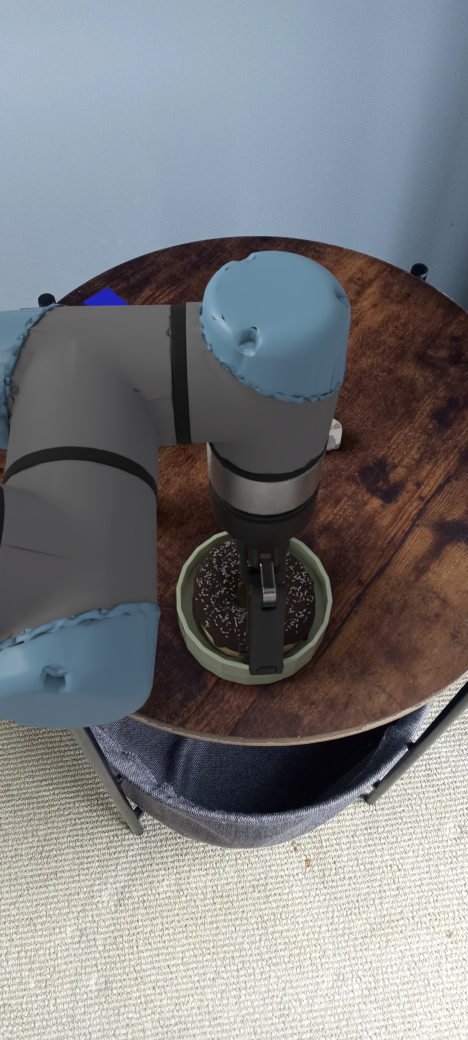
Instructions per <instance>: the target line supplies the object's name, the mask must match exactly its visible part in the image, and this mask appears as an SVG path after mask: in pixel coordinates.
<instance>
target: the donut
mask: <svg viewBox="0 0 468 1040" xmlns="http://www.w3.org/2000/svg"><path fill="white" fill-rule="evenodd" d="M247 566H248V567H252V566H251V564H250V562H249V559H248V557H247ZM197 568H198V569H197V571H196V576H195V579H194V595H193V603H194V609H195V613H196V615H197V617H198V619H199V621H200V623H201V626H202V628H203V629H204V631H205V633H206V634H207V636H208V638H209V639H210V641H211V642H212V643H213V645H214V646H215V647H217V648H218V649H220V650H221V651H223V652H224V653H226V654H228V655H232V656H236V657H239V645H241V644H245V636H248V628H247V609H243V608H242V605H241V603H240V601H239V599H238V597H237V595H236V593H237V591H238V589H239V588H240V586H241V585H242V584H243V582H242V581H241V577H240V567H239V552H238V551H237V549H236V542H235V539H231V540H228V541H225V542H223V543H220V544H217V545H215V546H214V547H213V548H212V549H211V550H210V551H209V552H208V553H207V554H206V555H205V556H204V558H203V559H202V561H201V563H200V565H199V566H198V567H197ZM281 583H286V585H287V588H288V589H289V595H288V596H287V602H286V608H285V627H284V649H283V653H285V652H287V651H289V650H291V649H292V648H293V647H294V646H296V645H297V644H298V643H299V642H300V641H302V640H303V641H306V640H307V639H308V635H309V632H310V630H311V628H312V626H313V623H314V619H315V611H316V598H315V591H314V581H313V580H312V579H311V577H310V575H309V573H308V571H307V569H306V568H305V567H304V565H303V564H302V563H301V562H300V560H298V559H297V558H296V557H295V556H294V555H293V554H291V553H290V552H288V551H286V578H285V580H284V581H282V582H281ZM240 658H244V656H242V657H240Z"/></svg>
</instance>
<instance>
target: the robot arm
mask: <svg viewBox="0 0 468 1040" xmlns="http://www.w3.org/2000/svg"><path fill="white" fill-rule="evenodd" d="M351 321H352V307H351V302H350V301H349V299H348V294H347V293H346V291H345V289H344V287H343V286H342V284H341V282H340V281H339V280H338V279H337V277H336V276H335V275H334V274H333V273H332V272H331V271H330V270H329V269H327V268H326V267H324V266H323V265H322V264H320V263H319V262H317V261H314V260H313V259H311V258H308V257H306V256H303V255H301V254H298V253H293V252H289V251H283V250H262V251H255V252H252V253H251V254H249V255H248V256H247V257H246V258H245V259H242V260H231V261H229V262H227V263H225V264H224V265H222V266H221V267H220V268H219V270H217V271H216V272H215V273H214V274H213V276H212V277H211V278H210V279H209V281H208V283H207V285H206V287H205V290H204V293H203V298H202V301H186V302H185V304H138V305H137V304H136V305H135V304H133V305H132V304H131V305H130V304H128V305H123V306H77V305H66V304H64V303H52V304H50V305H48V306H37V307H23V308H19V309H12V310H0V450H7V451H6V458H5V465H4V473H3V476H2V480H1V481H2V482H0V721H12V722H14V724H16V725H19V726H24V727H30V728H42V729H80V728H90V727H97V726H102V725H103V726H104V725H108V724H111V723H114V722H117V721H119V720H123V719H124V718H126V717H127V716H129V715H131V714H134V713H135V712H137V711H138V710H140V709H141V708H142V707H143V706H144V705H145V704H146V702H147V700H148V699H149V697H150V696H151V692H152V690H153V685H154V676H155V663H156V654H157V653H156V652H157V644H158V633H159V623H160V619H161V614H162V612H161V609H160V606H159V605H158V531H157V529H158V528H157V527H158V525H157V522H158V521H157V517H158V516H157V514H158V513H157V509H158V507H159V505H158V503H159V502H158V500H159V499H158V495H159V462H160V461H159V460H160V459H159V457H160V456H159V453H160V447H170V446H171V447H172V446H178V445H179V446H184V445H188V446H189V445H192V444H197V443H198V444H205V443H206V461H207V462H206V463H207V464H206V467H207V475H208V497H209V498H208V499H209V506H210V510H211V513H212V515H213V517H214V520H215V521H216V523H217V524H218V526H219V527H220V528H221V529H222V530H223V531H224V532H225V531H226V532H227V533H228V534H230V535H231V536H233V537H234V538H235V542H236V549H237V551H238V552H239V567H240V577H241V581H242V582H243V583H245V584H246V585H247V628H248V636H245V644H241V645H239V657H242V656H244V660H243V664H245V665H248V668H249V671H250V674H251V676H252V675H270V674H282V672H283V669H284V663H283V649H284V627H285V608H286V602H287V596H288V595H289V589H288V588H287V585H286V583H281V582H282V581H284V580H285V578H286V551H287V550H288V549H289V546H290V539H292V538H293V537H294V538H296V536H298V534H300V533H302V531H304V529H305V528H306V527H307V526H308V524H309V523H310V521H311V519H312V518H313V516H314V513H315V510H316V505H317V504H316V503H317V500H318V496H319V490H320V486H321V478H322V472H323V467H324V462H325V457H326V453H327V452H331V451H332V450H335V449H334V448H335V445H336V442H335V438H334V437H333V436H332V435H329V433H330V429H331V425H332V421H333V419H334V416H335V413H336V408H337V403H338V400H339V396H340V392H341V388H342V386H343V383H344V380H345V378H346V374H347V371H348V367H347V366H346V364H347V356H348V347H349V339H350V337H349V336H350V330H351V329H350V328H351ZM247 557H248V559H249V562H250V564H251V566H252V567H248V566H247Z"/></svg>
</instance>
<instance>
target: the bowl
mask: <svg viewBox="0 0 468 1040" xmlns="http://www.w3.org/2000/svg"><path fill="white" fill-rule="evenodd" d="M231 539H235V538H234V537H233V536H231V535H230V534H228V533H227V532H226V531H225V530H224V531H222V532H219V533H217V534H213V536H211V537H210V538H209V539H207V540H205V541H204V542H203V543H202V544H200V545H198V546H197V547H196V548H194V549H195V550H194V551H193V552H192V553H191V554H190V556H189V557H188V559H187V560H186V561H185V563H184V564H183V566H182V568H181V571H180V575H179V577H178V581H177V584H176V611H177V612H176V613H177V620H178V625H179V626H178V627H179V630H180V632H181V636H182V638H183V640H184V643H185V645H186V648H187V650H188V651H189V652H190V654H192V656H193V657H194V658H195V660H196V661H197V662H198V663H199V664H200V665H201V666H202V667H203V668H204V669H206V670H208V671H209V672H211V673H213V674H214V675H216V676H217V677H219V678H221V679H223V680H226V681H229V682H234V683H238V684H241V685H246V686H249V685H250V686H251V685H252V686H253V685H269V684H273V683H276V682H278V681H281V680H283V679H286V678H288V677H291V676H293V675H294V674H296V673H297V672H298V671H299V670H300V669H302V668H303V667H304V666H305V665H307V664H308V663H309V662H310V661H311V660H312V658H313V657H314V655H315V654H316V652H317V650H318V648H319V647H320V645H321V644H322V642H323V639H324V637H325V634H326V631H327V628H328V625H329V621H330V615H331V611H332V606H333V595H332V587H331V582H330V580H331V579H330V577H329V575H328V573H327V571H326V570H325V568H324V566H323V564H322V562H321V559H320V558H319V557H318V556H317V555H316V554H315V553H314V552H313V551H312V550H311V549H310V548H309V547H308V546H307V545H306V544H305V543H304V542H303V541H301V540H299V539H297V538H296V537H293V538H292V539H290V546H289V549H288V550H287V551H288V552H290V553H291V554H293V555H294V556H295V557H296V558H297V559H298V560H300V562H301V563H302V564H303V565H304V567H305V568H306V569H307V571H308V573H309V575H310V577H311V579H312V580H313V581H314V591H315V598H316V611H315V619H314V623H313V626H312V628H311V630H310V632H309V635H308V639H307V640H306V641H303V640H302V641H300V642H299V643H298V644H297V645H296V646H294V647H293V648H292V649H291V650H289V651H287V652H285V653H283V663H284V669H283V672H282V674H270V675H252V676H251V674H250V671H249V668H248V665H245V664H243V660H244V658H240V657H236V656H232V655H228V654H226V653H224V652H223V651H221V650H220V649H218V648H217V647H215V646H214V645H213V643H212V642H211V641H210V639H209V638H208V636H207V634H206V633H205V631H204V629H203V628H202V626H201V623H200V621H199V619H198V617H197V615H196V613H195V609H194V603H193V595H194V579H195V576H196V571H197V569H198V568H197V567H198V566H199V565H200V563H201V561H202V559H203V558H204V556H205V555H206V554H207V553H208V552H209V551H210V550H211V549H212V548H213V547H214V546H215V545H217V544H220V543H223V542H225V541H228V540H231ZM236 595H237V597H238V599H239V601H240V603H241V605H242V608H243V609H247V585H246V584H245V583H243V584H242V585H241V586H240V588H239V589H238V591H237V593H236Z"/></svg>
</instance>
